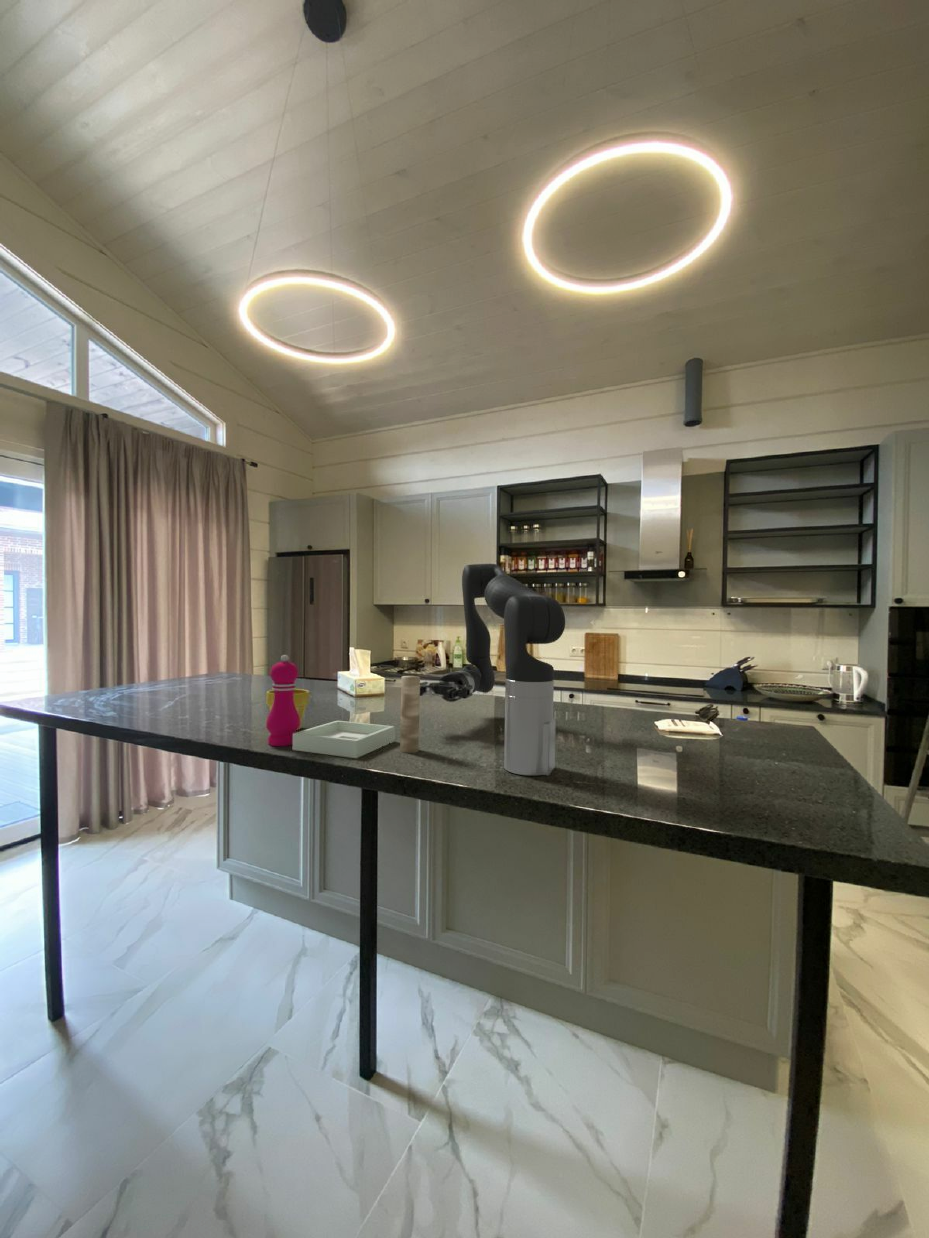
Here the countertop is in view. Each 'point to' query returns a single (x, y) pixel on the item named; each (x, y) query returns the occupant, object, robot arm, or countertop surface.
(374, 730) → the bin
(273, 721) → the pepper mill
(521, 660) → the robot arm
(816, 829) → the countertop surface
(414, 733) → the peg
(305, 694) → the plant pot
